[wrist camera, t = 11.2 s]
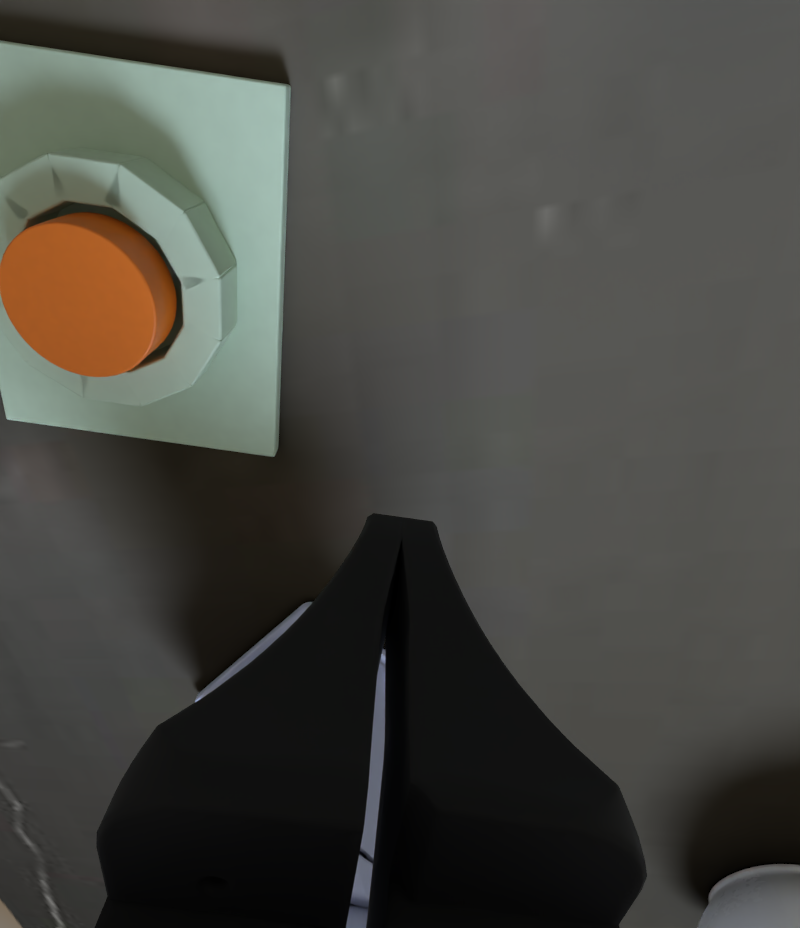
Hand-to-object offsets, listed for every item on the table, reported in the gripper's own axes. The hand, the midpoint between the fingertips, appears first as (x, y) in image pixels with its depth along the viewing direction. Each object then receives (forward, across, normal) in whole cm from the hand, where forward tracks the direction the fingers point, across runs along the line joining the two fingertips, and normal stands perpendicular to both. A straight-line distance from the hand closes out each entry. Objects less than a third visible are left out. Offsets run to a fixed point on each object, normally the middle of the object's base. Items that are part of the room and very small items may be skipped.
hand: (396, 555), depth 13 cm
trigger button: (+8, +10, -2) cm, 13 cm away
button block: (+10, +10, -2) cm, 14 cm away
